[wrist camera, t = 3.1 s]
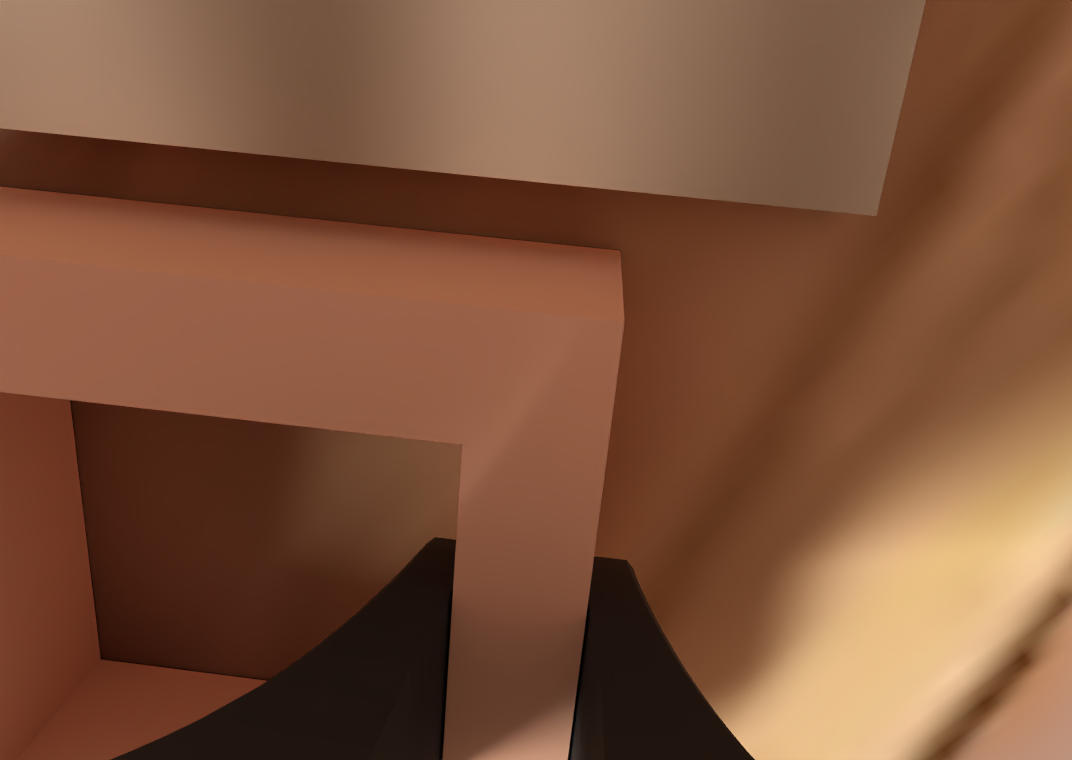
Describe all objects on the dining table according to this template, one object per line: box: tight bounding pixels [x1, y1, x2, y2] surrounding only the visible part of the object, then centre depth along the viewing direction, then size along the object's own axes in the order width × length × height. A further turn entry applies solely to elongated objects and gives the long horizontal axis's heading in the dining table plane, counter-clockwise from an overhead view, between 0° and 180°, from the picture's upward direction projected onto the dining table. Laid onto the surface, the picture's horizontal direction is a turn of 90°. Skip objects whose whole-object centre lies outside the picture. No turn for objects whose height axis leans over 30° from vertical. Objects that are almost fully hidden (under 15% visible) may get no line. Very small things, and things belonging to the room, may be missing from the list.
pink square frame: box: [0, 187, 625, 760], centre depth 12 cm, size 10×10×4 cm
